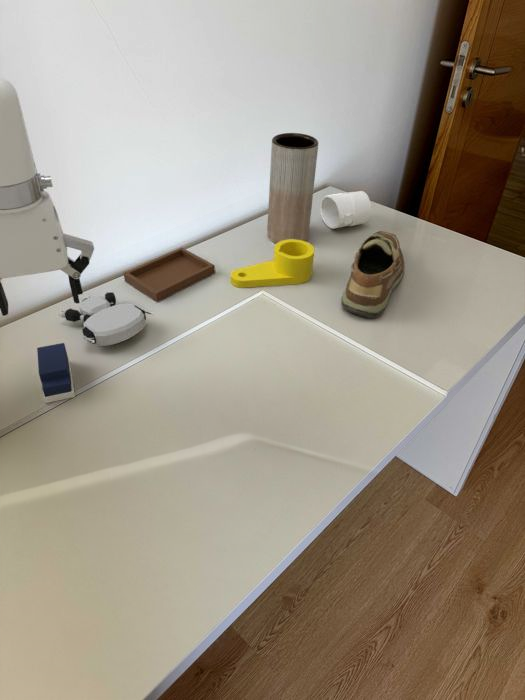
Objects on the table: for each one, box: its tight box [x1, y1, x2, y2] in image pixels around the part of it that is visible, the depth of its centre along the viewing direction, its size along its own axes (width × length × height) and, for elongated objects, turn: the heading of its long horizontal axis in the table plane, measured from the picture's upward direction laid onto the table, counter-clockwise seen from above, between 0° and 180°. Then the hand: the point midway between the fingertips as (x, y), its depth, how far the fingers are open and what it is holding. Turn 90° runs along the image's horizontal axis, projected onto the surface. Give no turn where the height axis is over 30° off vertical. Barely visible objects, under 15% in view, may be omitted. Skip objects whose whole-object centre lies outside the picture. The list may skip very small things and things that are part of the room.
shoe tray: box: [123, 247, 216, 303], centre depth 110 cm, size 16×11×2 cm
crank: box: [230, 239, 315, 289], centre depth 111 cm, size 18×8×6 cm, turn 110°
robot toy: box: [58, 290, 155, 347], centre depth 96 cm, size 12×4×15 cm
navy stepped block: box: [36, 342, 76, 404], centre depth 84 cm, size 9×4×4 cm, turn 20°
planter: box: [266, 132, 319, 244], centre depth 120 cm, size 10×10×23 cm
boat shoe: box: [341, 230, 405, 319], centre depth 109 cm, size 11×29×11 cm, turn 162°
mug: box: [320, 190, 372, 230], centre depth 132 cm, size 12×9×8 cm
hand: (41, 304), depth 76 cm, fingers open, 9 cm apart
